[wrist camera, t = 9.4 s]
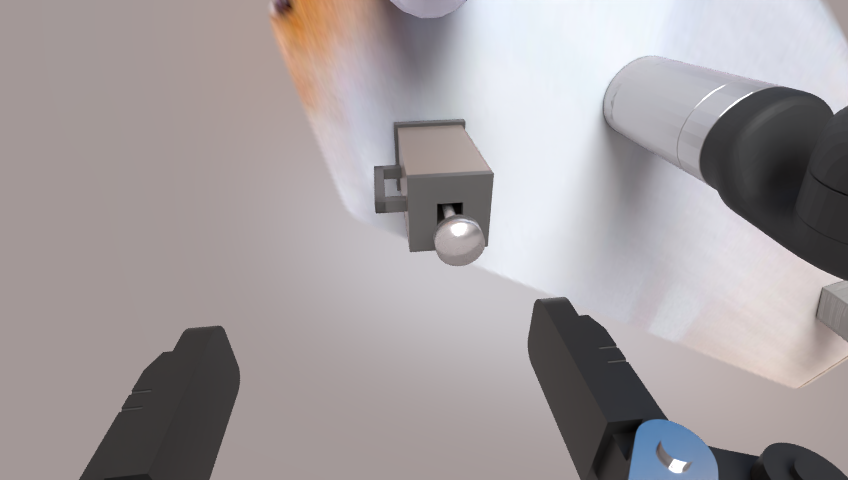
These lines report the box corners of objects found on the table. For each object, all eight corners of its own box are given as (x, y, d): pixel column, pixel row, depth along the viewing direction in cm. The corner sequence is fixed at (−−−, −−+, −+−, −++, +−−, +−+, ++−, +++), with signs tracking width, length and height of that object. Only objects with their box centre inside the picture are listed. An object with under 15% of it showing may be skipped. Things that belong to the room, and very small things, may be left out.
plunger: (459, 139, 46) (500, 210, 31) (457, 188, 49) (494, 272, 34) (406, 142, 45) (423, 215, 31) (408, 191, 48) (424, 278, 34)
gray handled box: (463, 119, 48) (498, 169, 35) (460, 183, 53) (491, 249, 39) (371, 123, 47) (371, 176, 34) (376, 188, 52) (378, 257, 39)
